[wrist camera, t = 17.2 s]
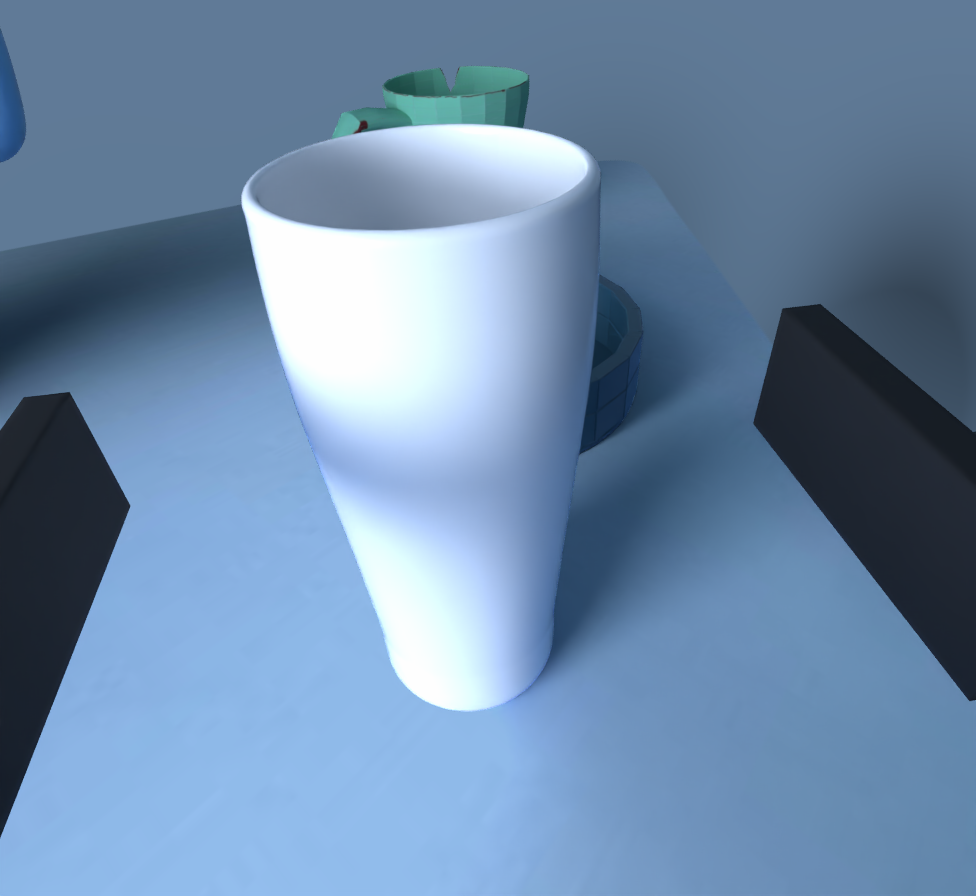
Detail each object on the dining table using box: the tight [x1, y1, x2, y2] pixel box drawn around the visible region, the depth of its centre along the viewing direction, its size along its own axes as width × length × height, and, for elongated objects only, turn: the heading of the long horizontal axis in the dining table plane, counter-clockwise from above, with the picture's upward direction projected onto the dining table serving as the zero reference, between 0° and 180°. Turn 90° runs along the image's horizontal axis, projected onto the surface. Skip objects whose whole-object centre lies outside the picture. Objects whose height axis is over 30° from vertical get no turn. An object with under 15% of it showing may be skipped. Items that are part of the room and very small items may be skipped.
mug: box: [331, 66, 529, 139], centre depth 46 cm, size 15×10×10 cm
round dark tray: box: [579, 275, 643, 454], centre depth 33 cm, size 14×14×4 cm
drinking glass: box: [241, 124, 601, 711], centre depth 17 cm, size 7×7×15 cm
